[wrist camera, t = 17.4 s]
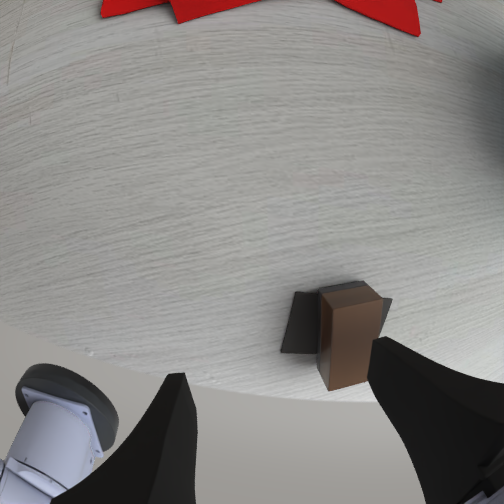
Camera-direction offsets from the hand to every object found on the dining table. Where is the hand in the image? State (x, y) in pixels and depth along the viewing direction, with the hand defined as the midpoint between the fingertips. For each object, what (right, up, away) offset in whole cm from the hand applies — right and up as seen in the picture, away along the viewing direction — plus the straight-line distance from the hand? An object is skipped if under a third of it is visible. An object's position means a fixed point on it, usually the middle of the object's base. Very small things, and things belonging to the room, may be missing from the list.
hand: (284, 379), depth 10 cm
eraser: (+5, -1, +11) cm, 12 cm away
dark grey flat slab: (+5, -1, +11) cm, 12 cm away
